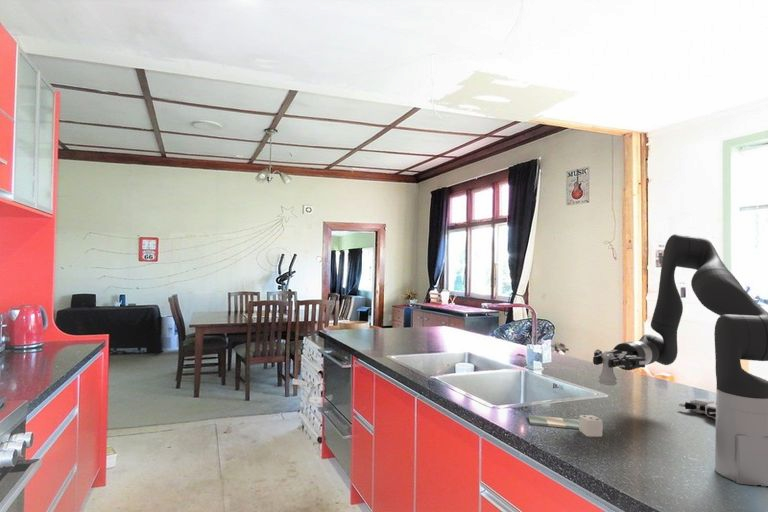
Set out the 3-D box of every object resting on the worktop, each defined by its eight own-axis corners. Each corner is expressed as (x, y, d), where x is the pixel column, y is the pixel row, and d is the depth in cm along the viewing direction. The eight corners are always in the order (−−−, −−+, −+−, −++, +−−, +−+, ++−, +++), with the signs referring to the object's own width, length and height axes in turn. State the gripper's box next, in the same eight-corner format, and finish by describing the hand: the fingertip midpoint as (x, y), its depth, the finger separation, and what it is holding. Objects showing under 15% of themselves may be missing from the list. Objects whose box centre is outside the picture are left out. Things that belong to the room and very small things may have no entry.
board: (602, 431, 120) (602, 428, 120) (530, 424, 124) (530, 422, 124) (596, 423, 126) (596, 421, 126) (527, 417, 129) (527, 415, 129)
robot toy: (675, 413, 140) (726, 427, 126) (675, 398, 140) (725, 410, 126) (705, 411, 144) (757, 423, 130) (704, 396, 144) (756, 407, 130)
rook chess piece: (619, 386, 120) (619, 355, 120) (600, 385, 121) (601, 354, 121) (614, 382, 125) (614, 352, 125) (596, 380, 126) (596, 351, 126)
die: (602, 436, 116) (602, 420, 116) (586, 436, 116) (587, 420, 116) (594, 431, 120) (594, 415, 120) (579, 430, 120) (579, 415, 120)
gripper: (607, 338, 137) (577, 343, 127) (659, 345, 126) (630, 352, 116) (607, 363, 137) (576, 371, 127) (659, 373, 126) (629, 382, 116)
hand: (602, 362), depth 121 cm, fingers closed on rook chess piece, 3 cm apart
